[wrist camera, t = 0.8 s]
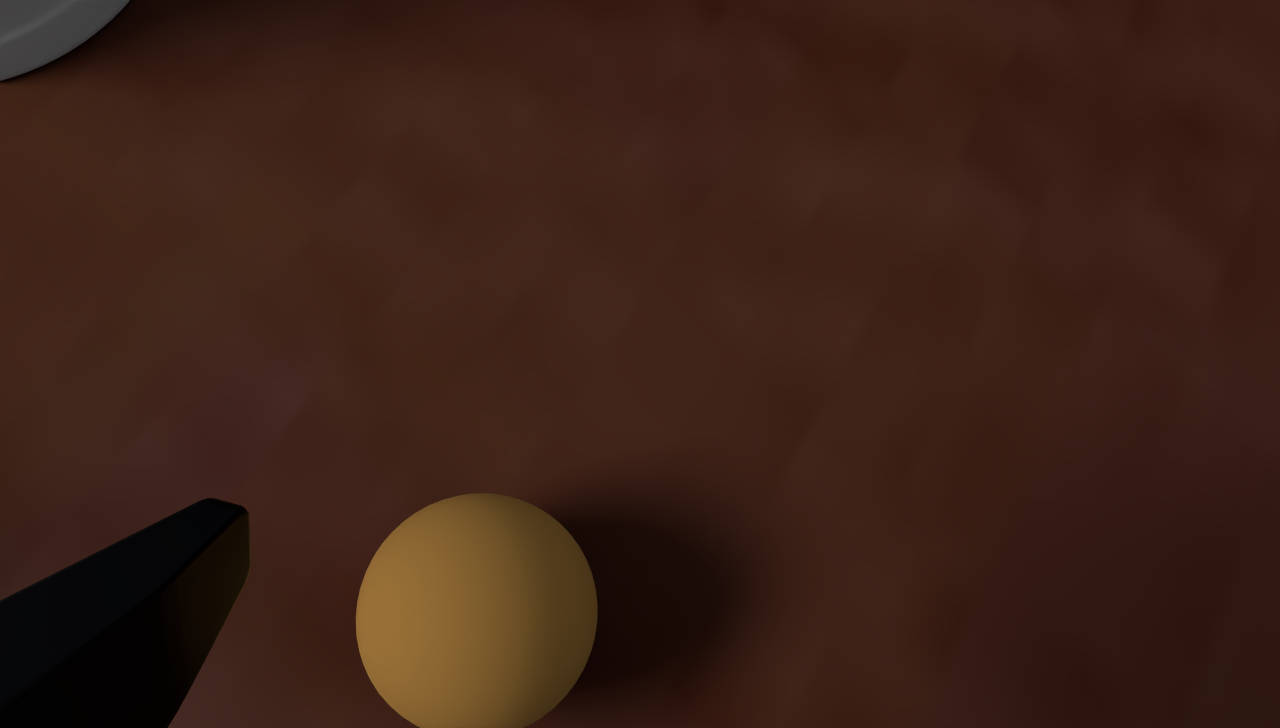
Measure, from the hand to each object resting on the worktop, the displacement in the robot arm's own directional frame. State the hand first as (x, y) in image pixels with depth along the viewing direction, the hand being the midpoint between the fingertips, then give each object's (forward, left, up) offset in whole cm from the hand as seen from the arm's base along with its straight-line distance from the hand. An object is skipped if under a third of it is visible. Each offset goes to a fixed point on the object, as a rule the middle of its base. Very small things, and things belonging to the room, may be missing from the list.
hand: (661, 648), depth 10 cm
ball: (+2, +3, -10) cm, 11 cm away
